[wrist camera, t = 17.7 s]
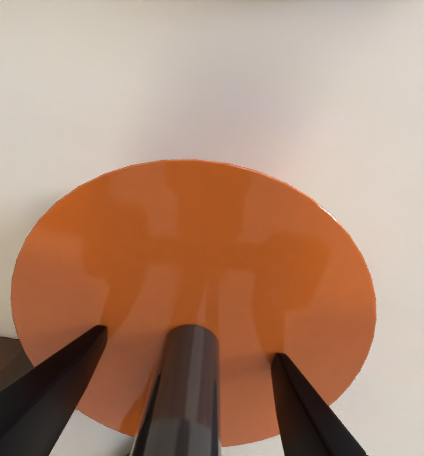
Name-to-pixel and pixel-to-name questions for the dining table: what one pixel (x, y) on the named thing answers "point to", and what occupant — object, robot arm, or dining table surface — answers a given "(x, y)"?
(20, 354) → the block
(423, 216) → the dining table surface
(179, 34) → the dining table surface
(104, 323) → the lid
